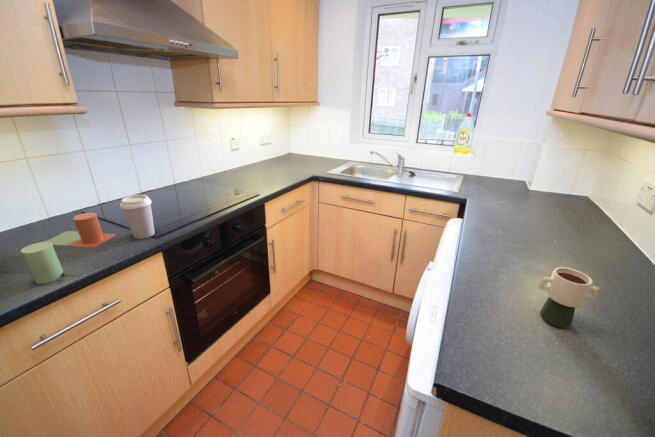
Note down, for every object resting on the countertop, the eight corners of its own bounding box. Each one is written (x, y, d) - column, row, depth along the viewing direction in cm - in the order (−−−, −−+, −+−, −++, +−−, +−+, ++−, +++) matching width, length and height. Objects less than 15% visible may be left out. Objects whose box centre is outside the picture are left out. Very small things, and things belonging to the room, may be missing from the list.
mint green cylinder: (49, 285, 82) (35, 253, 78) (28, 283, 82) (13, 252, 78) (70, 272, 88) (58, 242, 84) (50, 270, 88) (37, 240, 84)
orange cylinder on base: (94, 244, 101) (85, 220, 97) (76, 243, 102) (67, 219, 98) (108, 235, 107) (101, 213, 103) (92, 234, 107) (84, 212, 104)
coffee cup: (165, 233, 111) (156, 195, 105) (143, 245, 103) (132, 204, 97) (146, 229, 114) (137, 192, 108) (123, 240, 106) (111, 200, 100)
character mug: (576, 316, 73) (596, 272, 68) (587, 337, 67) (610, 290, 62) (525, 305, 77) (540, 262, 72) (531, 323, 71) (548, 278, 66)
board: (95, 249, 100) (94, 247, 99) (41, 246, 101) (40, 243, 101) (117, 236, 109) (116, 234, 108) (67, 233, 110) (66, 230, 110)
